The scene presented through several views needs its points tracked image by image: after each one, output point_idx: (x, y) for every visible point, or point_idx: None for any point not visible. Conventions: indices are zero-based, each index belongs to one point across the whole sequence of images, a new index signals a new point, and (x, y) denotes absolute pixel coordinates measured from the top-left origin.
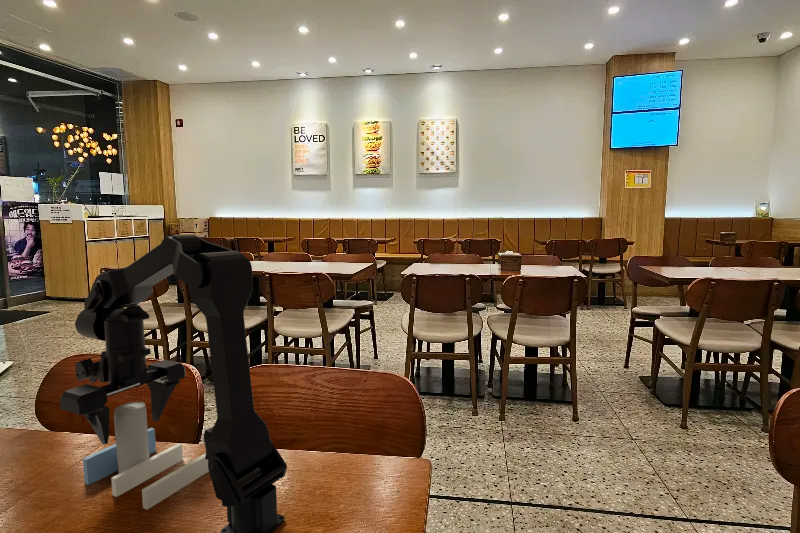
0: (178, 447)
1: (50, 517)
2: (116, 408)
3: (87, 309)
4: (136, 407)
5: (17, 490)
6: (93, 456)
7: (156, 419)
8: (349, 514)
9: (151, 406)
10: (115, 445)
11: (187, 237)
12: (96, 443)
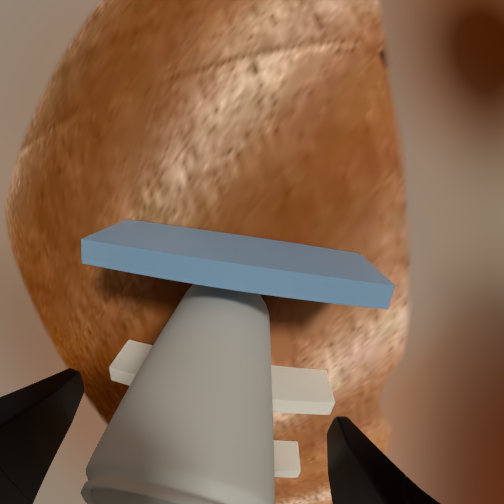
0: (316, 411)
1: (37, 273)
2: (104, 488)
3: None
4: None
5: (65, 77)
6: (104, 267)
7: (328, 440)
8: None
9: (360, 468)
10: (201, 274)
11: None
12: (335, 17)
